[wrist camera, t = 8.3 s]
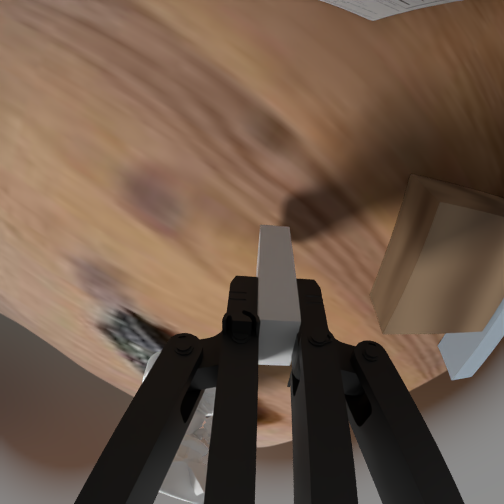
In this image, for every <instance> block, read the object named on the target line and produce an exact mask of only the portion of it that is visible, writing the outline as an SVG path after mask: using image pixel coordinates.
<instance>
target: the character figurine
mask: <svg viewBox="0 0 504 504" xmlns="http://www.w3.org/2000/svg"><path fill="white" fill-rule="evenodd" d="M160 353H161V351H159V352H157V353H155V354H154V355H152V356H151V357H150V359H149V360H148V363H147V367H146V370H145V373H144V377H143V381H144V380H145V378H146V376H147V375H148V373H149V371H150V369H151V368H152V366H153V364H154V363H155V361H156V359H157V358H158V356H159V354H160ZM143 381H142V383H143ZM215 393H216V387H213V388H208V389H205V391H204V393H203V396H202V398H201V400H200V402H199V405H198V407H197V409H196V411H195V413H194V416H193V418H192V420H191V422H190V424H189V427H188V429H187V431H186V433H185V435H184V438H183V440H182V442H181V444H180V446H179V449H178V451H177V453H176V455H175V457H174V459H173V462H172V464H171V466H170V468H169V470H168V472H167V475H166V477H165V479H164V481H163V483H162V485H161V488H160V490H159V492H161V493H163V494H166V495H169V496H172V497H175V498H178V499H180V500H183V501H186V502H190V503H194V504H204V495H205V485H206V475H207V465H206V464H203V458H202V457H203V456H205V455H207V453H208V448H207V446H206V445H205V444H204V443H203V442H201V441H200V440H201V439H202V438H201V437H204V439H206V442H207V444H210V437H211V428H212V419H213V410H214V401H215ZM208 415H212V416H211V417H209V418H207V419H206V418H205V416H208ZM204 420H205V421H206V423H205V424H204V425H202V424H203V422H204ZM202 426H204V428H201V427H202ZM199 428H201V429H199Z"/></svg>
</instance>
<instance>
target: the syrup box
mask: <svg viewBox="0 0 504 504" xmlns="http://www.w3.org/2000/svg"><path fill="white" fill-rule="evenodd" d="M320 1H323V2H326V3H329V4H331V5H334V6H337V7H339V8H342V9H345V10H347V11H350V12H352V13H354V14H357V15H359V16H362V17H364V18H366V19H368V20H371V21H375V20H379V19H382V18H385V17H388V16H392V15H396V14H400V13H404V12H408V11H412V10H415V9H420V8H425V7H430V6H435V5H440V4H445V3H450V2H455V1H462V0H320Z"/></svg>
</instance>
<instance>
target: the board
mask: <svg viewBox="0 0 504 504" xmlns="http://www.w3.org/2000/svg"><path fill="white" fill-rule="evenodd" d="M503 336H504V298H503V300H502V302H501V303H500V305H499V307H498V308H497V310H496V311H495V313H494V315H493V316H492V318H491V319H490V321H489V322H488V324H487V325H486V327H485V328H484V329H483V331H482V332H465V333H446V334H445V335H444V337H443V339H442V340H441V342H440V343H439V345H438V347H439V350H440V352H441V354H442V357H443V359H444V362H445V364H446V367H447V369H448V372H449V374H450V377H451V380H455V379H461V378H467V377H472V375H473V374H474V373H475V372H476V371H477V370H478V368H479V367H480V366H481V364H482V363H483V362H484V361H485V360H486V358H487V357H488V356H489V355H490V353H491V352H492V351H493V349H494V348H495V347H496V345H497V344H498V343H499V341H500V340H501V338H502V337H503Z"/></svg>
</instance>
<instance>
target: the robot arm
mask: <svg viewBox="0 0 504 504" xmlns="http://www.w3.org/2000/svg"><path fill="white" fill-rule="evenodd" d="M291 360H292V371H291V374H290V378H289V381H288V386H287V387H290V386H291V409H292V437H293V472H294V504H358V497H357V487H356V477H355V468H354V459H353V451H352V443H351V435H350V428H349V423H350V425H351V427H352V430H353V432H354V434H355V437H356V439H357V442H358V444H359V447H360V449H361V451H362V454H363V456H364V459H365V461H366V464H367V466H368V469H369V471H370V474H371V476H372V478H373V481H374V483H375V486H376V488H377V491H378V493H379V496H380V498H381V501H382V503H383V504H464V502H463V500H462V497H461V495H460V493H459V491H458V488H457V486H456V484H455V482H454V480H453V477H452V475H451V473H450V471H449V469H448V467H447V465H446V463H445V461H444V459H443V457H442V454H441V452H440V450H439V448H438V446H437V444H436V442H435V441H434V439H433V437H432V435H431V433H430V431H429V429H428V427H427V425H426V423H425V421H424V419H423V417H422V415H421V413H420V412H419V410H418V408H417V406H416V404H415V402H414V401H413V399H412V397H411V395H410V393H409V391H408V389H407V388H406V386H405V384H404V382H403V380H402V379H401V377H400V375H399V373H398V372H397V370H396V368H395V366H394V365H393V363H392V361H391V359H390V358H389V356H388V354H387V352H386V351H385V349H384V348H383V347H382V346H381V345H380V344H378V343H376V342H374V341H362V342H360V343H358V344H357V346H352V345H349V344H345V343H342V342H340V341H338V340H336V339H335V338H334V336H333V334H332V333H331V332H330V331H329V329H328V325H327V320H326V314H325V309H324V304H323V299H322V294H321V289H320V287H319V285H318V284H317V283H316V281H315V280H310V279H296V273H295V265H294V258H293V250H292V242H291V235H290V228H289V227H286V226H272V225H260V235H259V247H258V259H257V277H248V276H236V277H235V278H234V279H233V280H232V282H231V283H230V291H229V299H228V306H227V313H226V314H225V315H224V317H223V319H222V331H221V332H220V333H219V334H218V335H216V336H214V337H211V338H206V339H201V340H199V339H198V338H197V337H196V336H194V335H192V334H188V333H181V334H177V335H175V336H173V337H171V338H170V339H169V340H168V341H167V343H166V344H165V346H164V348H163V349H162V351H161V353H160V354H159V356H158V358H157V359H156V361H155V363H154V364H153V366H152V368H151V369H150V371H149V373H148V375H147V376H146V378H145V380H144V381H143V383H142V385H141V386H140V388H139V390H138V391H137V393H136V395H135V397H134V398H133V400H132V402H131V404H130V405H129V407H128V409H127V411H126V412H125V414H124V415H123V417H122V419H121V421H120V423H119V424H118V426H117V428H116V429H115V431H114V433H113V435H112V436H111V438H110V440H109V442H108V444H107V445H106V447H105V449H104V451H103V452H102V454H101V456H100V458H99V459H98V461H97V463H96V465H95V466H94V468H93V470H92V472H91V474H90V475H89V477H88V479H87V481H86V483H85V485H84V486H83V488H82V490H81V492H80V494H79V496H78V497H77V499H76V501H75V503H74V504H153V503H154V500H155V498H156V496H157V494H158V492H159V490H160V488H161V485H162V483H163V481H164V479H165V477H166V475H167V472H168V470H169V468H170V466H171V464H172V462H173V459H174V457H175V455H176V453H177V451H178V449H179V446H180V444H181V442H182V440H183V438H184V435H185V433H186V431H187V429H188V427H189V424H190V422H191V420H192V418H193V416H194V413H195V411H196V409H197V407H198V405H199V402H200V400H201V398H202V396H203V393H204V391H205V389H208V388H213V387H216V393H215V401H214V410H213V419H212V428H211V437H210V447H209V456H208V465H207V475H206V485H205V495H204V504H255V475H256V441H257V401H258V364H259V365H282V366H290V363H291ZM348 420H349V421H348Z"/></svg>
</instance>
